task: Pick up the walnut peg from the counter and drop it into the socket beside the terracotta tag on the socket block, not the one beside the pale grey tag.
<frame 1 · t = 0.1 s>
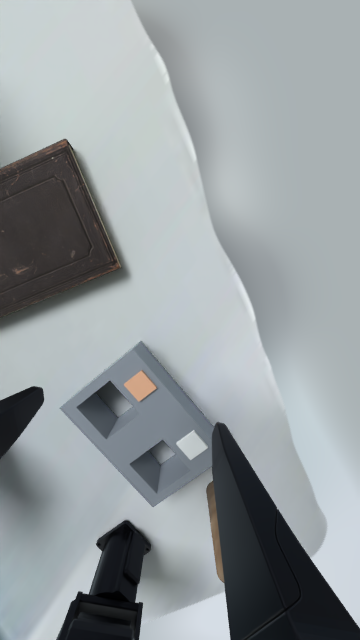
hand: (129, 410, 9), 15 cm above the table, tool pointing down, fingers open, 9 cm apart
socket block: (149, 412, 25), on the table
hardcover book: (26, 246, 24), on the table
walnut peg: (219, 490, 27), on the table
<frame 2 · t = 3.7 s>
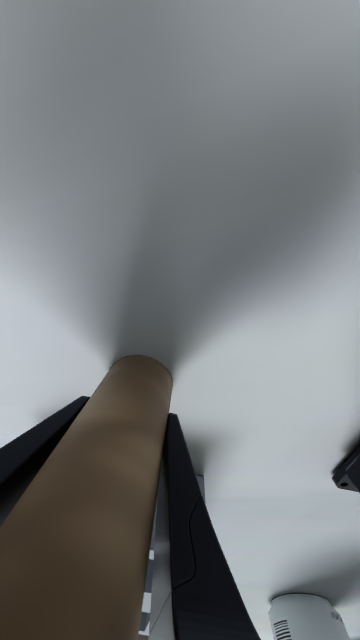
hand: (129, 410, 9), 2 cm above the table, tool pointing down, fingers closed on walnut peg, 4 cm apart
socket block: (121, 518, 17), on the table
supplement can: (298, 600, 22), on the table
walnut peg: (140, 382, 11), on the table, touching gripper
when the fingers open (4 cm above the table, at t = 8.9 s): walnut peg drops 2 cm, resting in socket block.
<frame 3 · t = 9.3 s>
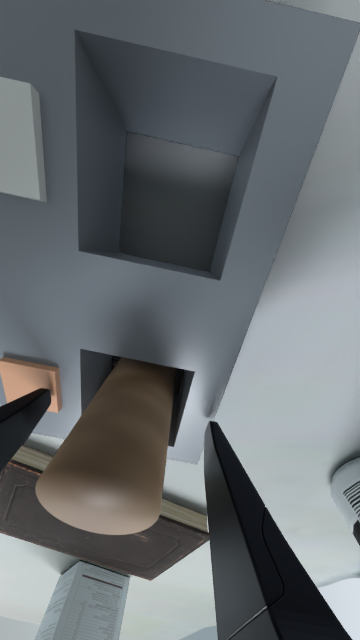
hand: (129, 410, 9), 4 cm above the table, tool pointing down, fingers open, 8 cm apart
supplement box: (95, 574, 29), on the table
socket block: (136, 292, 11), on the table
hardcover book: (100, 504, 22), on the table
walnut peg: (151, 360, 13), resting in socket block
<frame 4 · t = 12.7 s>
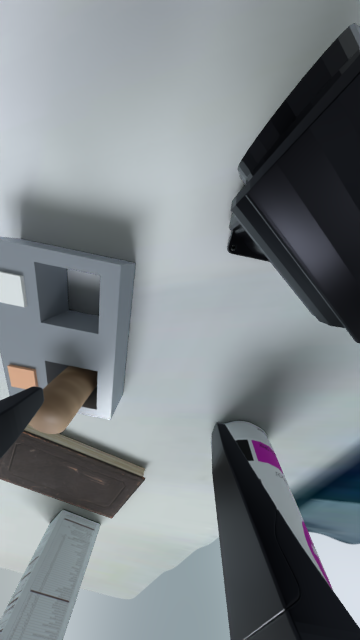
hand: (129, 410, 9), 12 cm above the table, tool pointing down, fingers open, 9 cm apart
supplement box: (75, 522, 39), on the table
socket block: (79, 328, 21), on the table
supplement can: (237, 436, 26), on the table
hardcover book: (74, 462, 32), on the table
walnut peg: (92, 364, 23), resting in socket block
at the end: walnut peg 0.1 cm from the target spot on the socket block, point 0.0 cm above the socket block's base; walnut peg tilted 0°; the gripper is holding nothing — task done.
